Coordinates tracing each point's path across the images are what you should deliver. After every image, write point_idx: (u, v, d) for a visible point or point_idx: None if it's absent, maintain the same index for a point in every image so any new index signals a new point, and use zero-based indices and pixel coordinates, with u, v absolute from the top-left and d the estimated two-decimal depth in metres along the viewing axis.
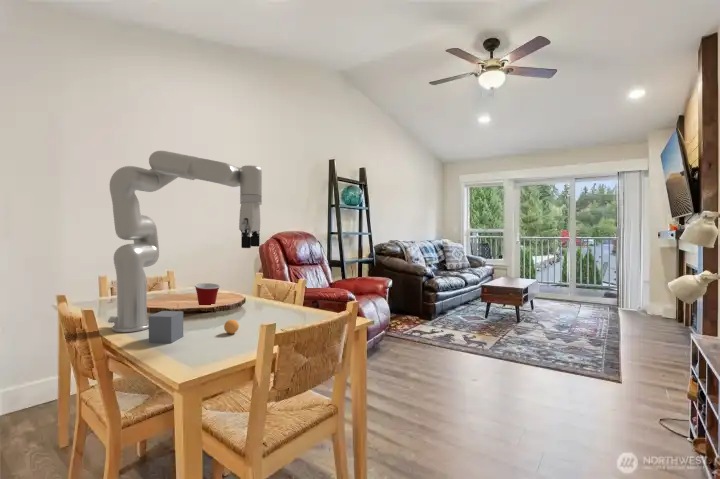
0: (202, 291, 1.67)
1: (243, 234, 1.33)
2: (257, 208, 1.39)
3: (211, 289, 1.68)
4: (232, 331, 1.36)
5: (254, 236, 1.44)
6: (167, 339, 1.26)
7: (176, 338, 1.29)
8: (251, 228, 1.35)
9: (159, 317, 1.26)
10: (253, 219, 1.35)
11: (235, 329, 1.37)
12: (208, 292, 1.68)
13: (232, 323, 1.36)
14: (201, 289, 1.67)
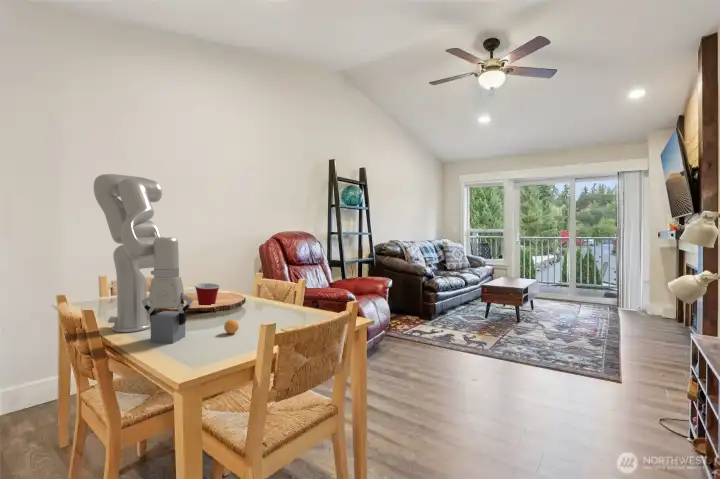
0: (202, 291, 1.67)
1: (186, 310, 1.28)
2: None
3: (211, 289, 1.68)
4: (232, 331, 1.36)
5: (154, 313, 1.29)
6: (169, 339, 1.26)
7: (178, 338, 1.29)
8: None
9: (161, 317, 1.26)
10: None
11: (235, 329, 1.37)
12: (208, 292, 1.68)
13: (232, 323, 1.36)
14: (201, 289, 1.67)
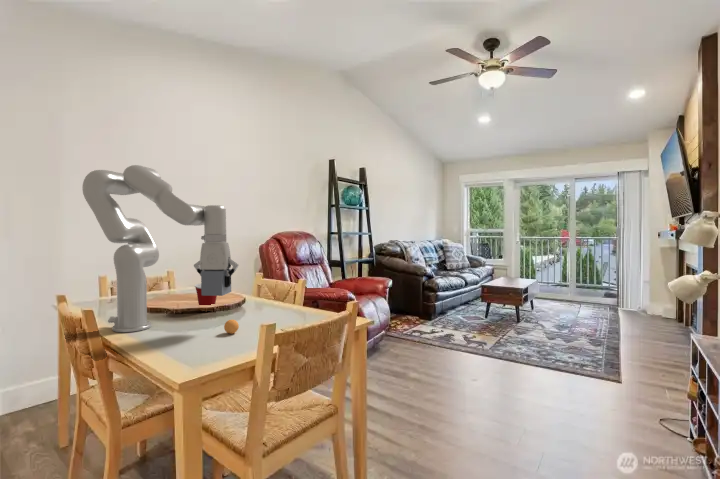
0: None
1: (231, 273, 1.40)
2: None
3: None
4: (232, 331, 1.36)
5: None
6: (218, 292, 1.37)
7: (225, 292, 1.40)
8: None
9: (210, 272, 1.37)
10: None
11: (235, 329, 1.37)
12: None
13: (232, 323, 1.36)
14: None
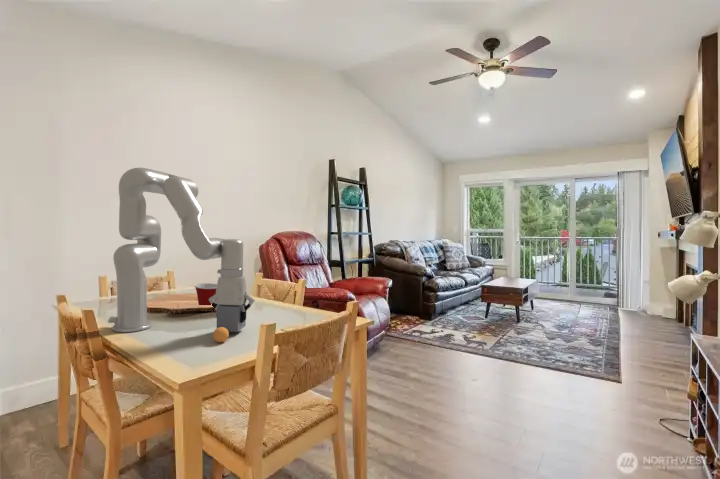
0: (202, 291, 1.67)
1: None
2: None
3: (211, 289, 1.68)
4: (224, 328, 1.28)
5: None
6: (234, 328, 1.35)
7: (241, 327, 1.38)
8: None
9: (227, 307, 1.35)
10: None
11: (227, 330, 1.28)
12: (208, 292, 1.68)
13: None
14: (201, 289, 1.67)
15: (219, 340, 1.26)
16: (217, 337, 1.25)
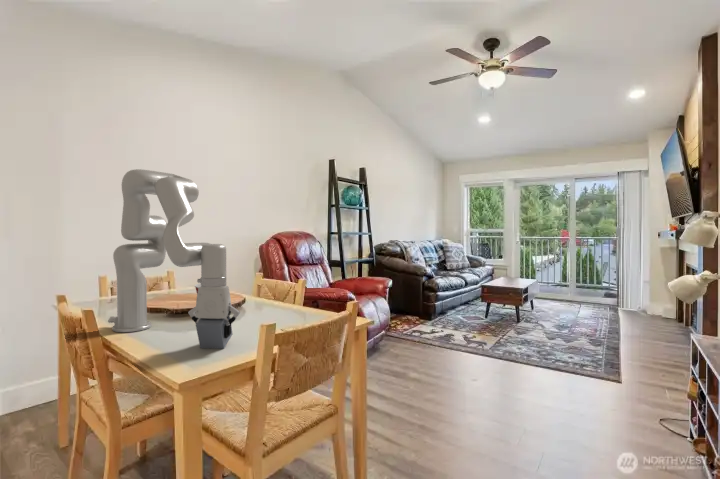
0: None
1: (232, 322, 1.22)
2: None
3: None
4: None
5: None
6: (219, 345, 1.21)
7: (227, 340, 1.24)
8: None
9: (207, 325, 1.18)
10: None
11: None
12: None
13: None
14: None
15: None
16: None
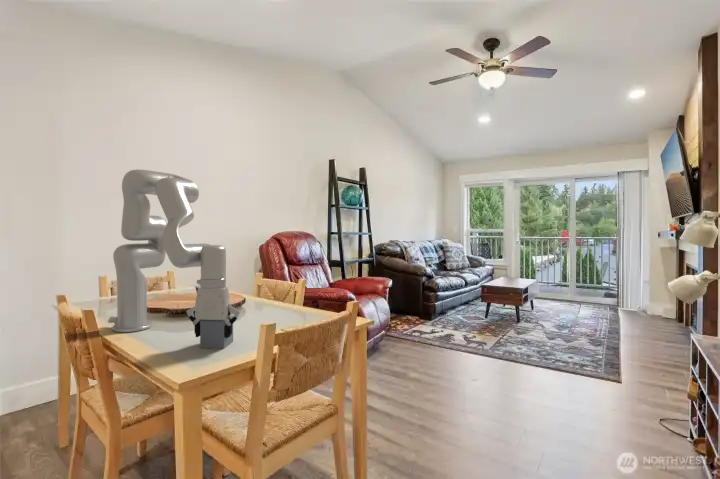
0: None
1: (233, 322, 1.22)
2: None
3: None
4: None
5: (199, 324, 1.23)
6: (220, 345, 1.21)
7: (227, 343, 1.24)
8: None
9: (211, 322, 1.21)
10: None
11: None
12: None
13: None
14: None
15: None
16: None
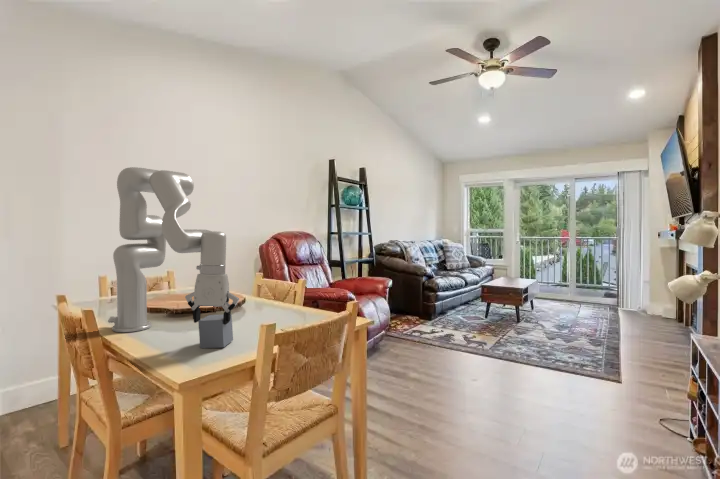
0: None
1: (231, 309, 1.22)
2: None
3: None
4: None
5: (198, 310, 1.23)
6: (219, 344, 1.21)
7: (227, 342, 1.24)
8: None
9: (209, 321, 1.21)
10: None
11: None
12: None
13: None
14: None
15: None
16: None
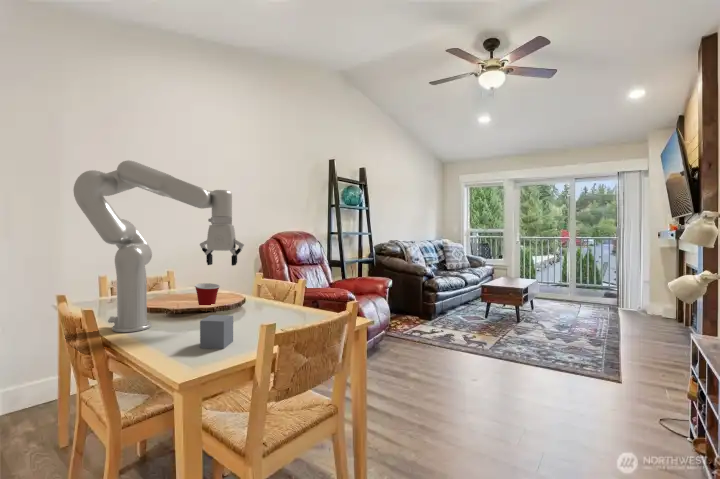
0: (202, 291, 1.67)
1: (238, 253, 1.50)
2: None
3: (211, 289, 1.68)
4: None
5: (210, 255, 1.50)
6: (220, 345, 1.21)
7: (227, 343, 1.24)
8: None
9: (211, 322, 1.21)
10: None
11: None
12: (208, 292, 1.68)
13: None
14: (201, 289, 1.67)
15: None
16: None
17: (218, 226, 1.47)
